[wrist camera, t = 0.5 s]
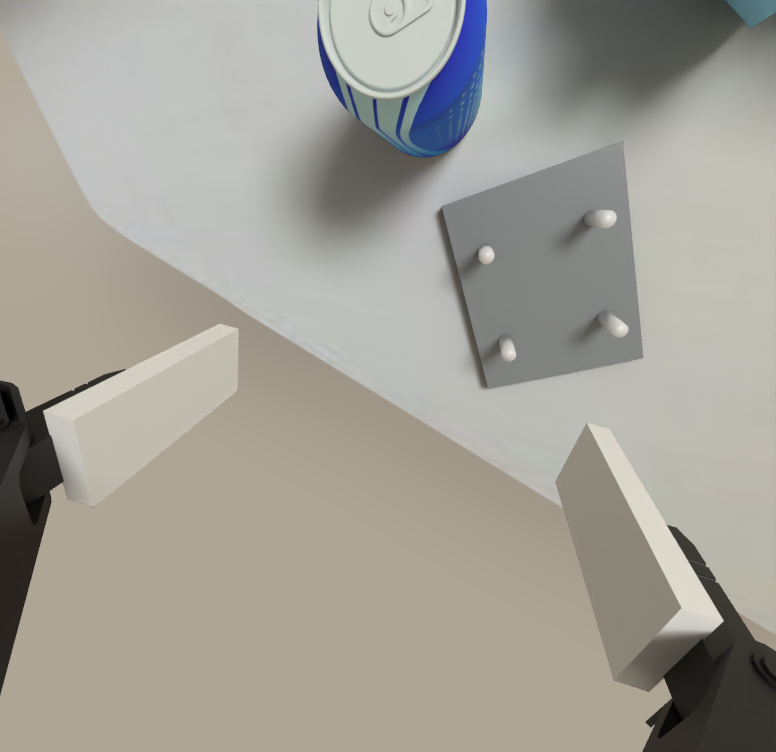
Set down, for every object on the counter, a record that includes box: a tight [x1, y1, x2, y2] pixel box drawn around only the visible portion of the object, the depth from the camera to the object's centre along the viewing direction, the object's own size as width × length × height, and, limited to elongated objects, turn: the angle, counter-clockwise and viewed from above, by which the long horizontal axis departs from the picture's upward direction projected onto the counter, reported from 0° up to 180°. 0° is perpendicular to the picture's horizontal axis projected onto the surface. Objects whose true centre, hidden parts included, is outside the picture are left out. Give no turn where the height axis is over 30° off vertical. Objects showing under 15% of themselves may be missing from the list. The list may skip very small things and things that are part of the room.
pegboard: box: [442, 141, 643, 389], centre depth 32 cm, size 18×14×5 cm
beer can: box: [317, 0, 487, 158], centre depth 23 cm, size 8×8×16 cm
